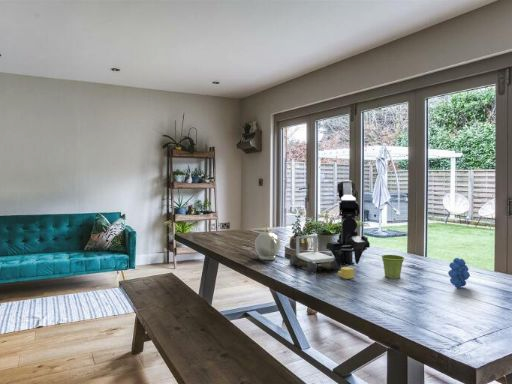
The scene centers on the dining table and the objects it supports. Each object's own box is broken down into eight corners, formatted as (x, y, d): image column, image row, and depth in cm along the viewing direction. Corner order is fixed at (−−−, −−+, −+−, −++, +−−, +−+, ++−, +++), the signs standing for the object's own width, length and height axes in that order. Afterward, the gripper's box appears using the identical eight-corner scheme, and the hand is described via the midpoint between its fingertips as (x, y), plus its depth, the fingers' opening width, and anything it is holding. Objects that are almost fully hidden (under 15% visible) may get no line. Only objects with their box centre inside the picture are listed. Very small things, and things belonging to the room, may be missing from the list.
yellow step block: (345, 274, 164) (345, 265, 164) (354, 278, 159) (354, 268, 159) (337, 275, 163) (338, 266, 163) (346, 279, 157) (346, 269, 157)
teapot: (250, 257, 201) (250, 227, 200) (273, 255, 206) (272, 225, 205) (264, 264, 184) (263, 231, 184) (288, 261, 190) (288, 229, 189)
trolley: (290, 263, 185) (290, 235, 184) (316, 261, 191) (316, 233, 190) (312, 273, 166) (312, 242, 165) (340, 270, 172) (340, 239, 171)
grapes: (461, 293, 136) (461, 261, 136) (443, 289, 142) (444, 258, 141) (477, 288, 142) (478, 257, 142) (460, 284, 148) (460, 254, 148)
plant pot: (403, 275, 163) (403, 255, 162) (404, 280, 154) (405, 259, 154) (381, 273, 166) (381, 254, 165) (381, 278, 157) (381, 258, 157)
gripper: (341, 232, 147) (341, 271, 148) (378, 229, 155) (378, 266, 155) (325, 229, 158) (325, 265, 158) (361, 226, 165) (361, 261, 166)
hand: (348, 264), depth 159 cm, fingers open, 9 cm apart
